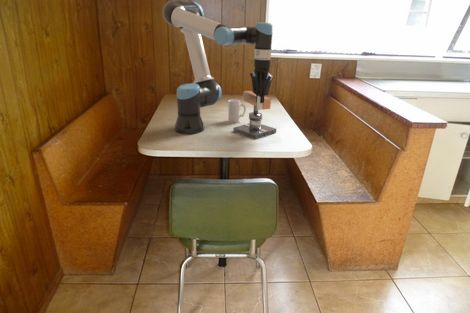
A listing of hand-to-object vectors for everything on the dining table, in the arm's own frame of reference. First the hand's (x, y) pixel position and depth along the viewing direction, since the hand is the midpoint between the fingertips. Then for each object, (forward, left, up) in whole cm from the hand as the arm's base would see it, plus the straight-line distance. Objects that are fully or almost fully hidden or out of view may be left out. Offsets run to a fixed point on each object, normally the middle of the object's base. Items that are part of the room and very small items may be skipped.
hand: (259, 109), depth 164 cm
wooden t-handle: (-8, +6, -8) cm, 13 cm away
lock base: (-8, +6, -15) cm, 18 cm away
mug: (-28, +12, -15) cm, 34 cm away
